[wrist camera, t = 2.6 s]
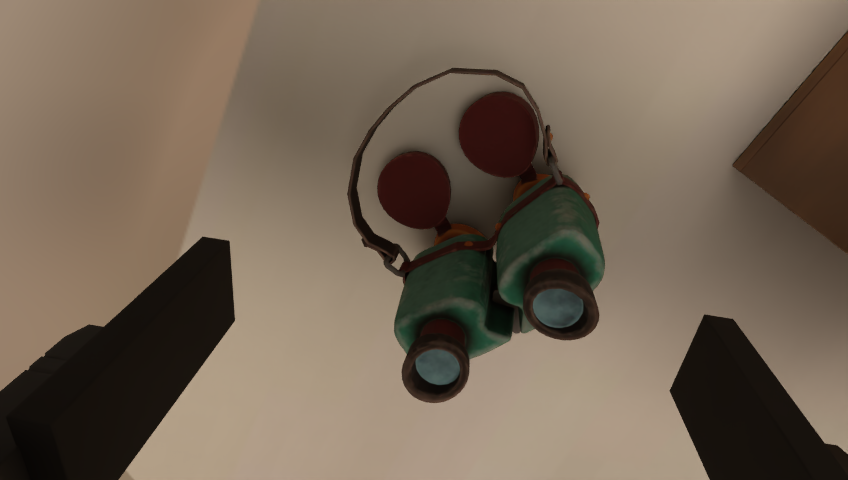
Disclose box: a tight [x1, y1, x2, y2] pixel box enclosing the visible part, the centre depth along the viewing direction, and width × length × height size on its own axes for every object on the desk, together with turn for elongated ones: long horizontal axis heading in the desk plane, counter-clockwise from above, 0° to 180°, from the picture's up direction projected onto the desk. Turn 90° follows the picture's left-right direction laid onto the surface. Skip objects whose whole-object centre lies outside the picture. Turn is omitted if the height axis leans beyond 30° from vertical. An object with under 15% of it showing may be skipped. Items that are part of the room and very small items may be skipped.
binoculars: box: [347, 68, 605, 403], centre depth 19 cm, size 9×11×10 cm
